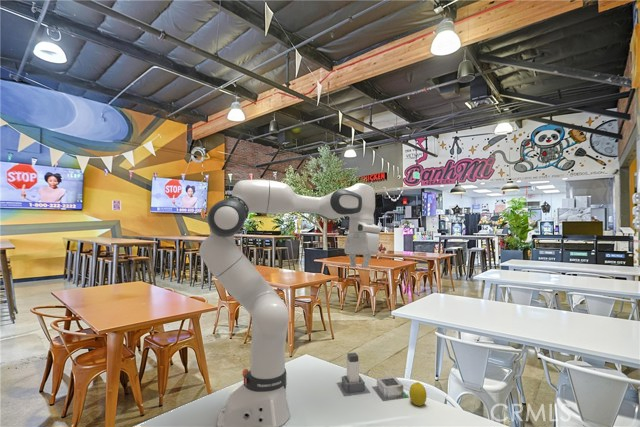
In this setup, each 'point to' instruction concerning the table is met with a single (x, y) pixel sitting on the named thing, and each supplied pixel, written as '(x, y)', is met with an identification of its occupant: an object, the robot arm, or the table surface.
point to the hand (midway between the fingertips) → (358, 267)
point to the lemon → (417, 394)
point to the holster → (352, 387)
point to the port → (390, 389)
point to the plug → (352, 368)
